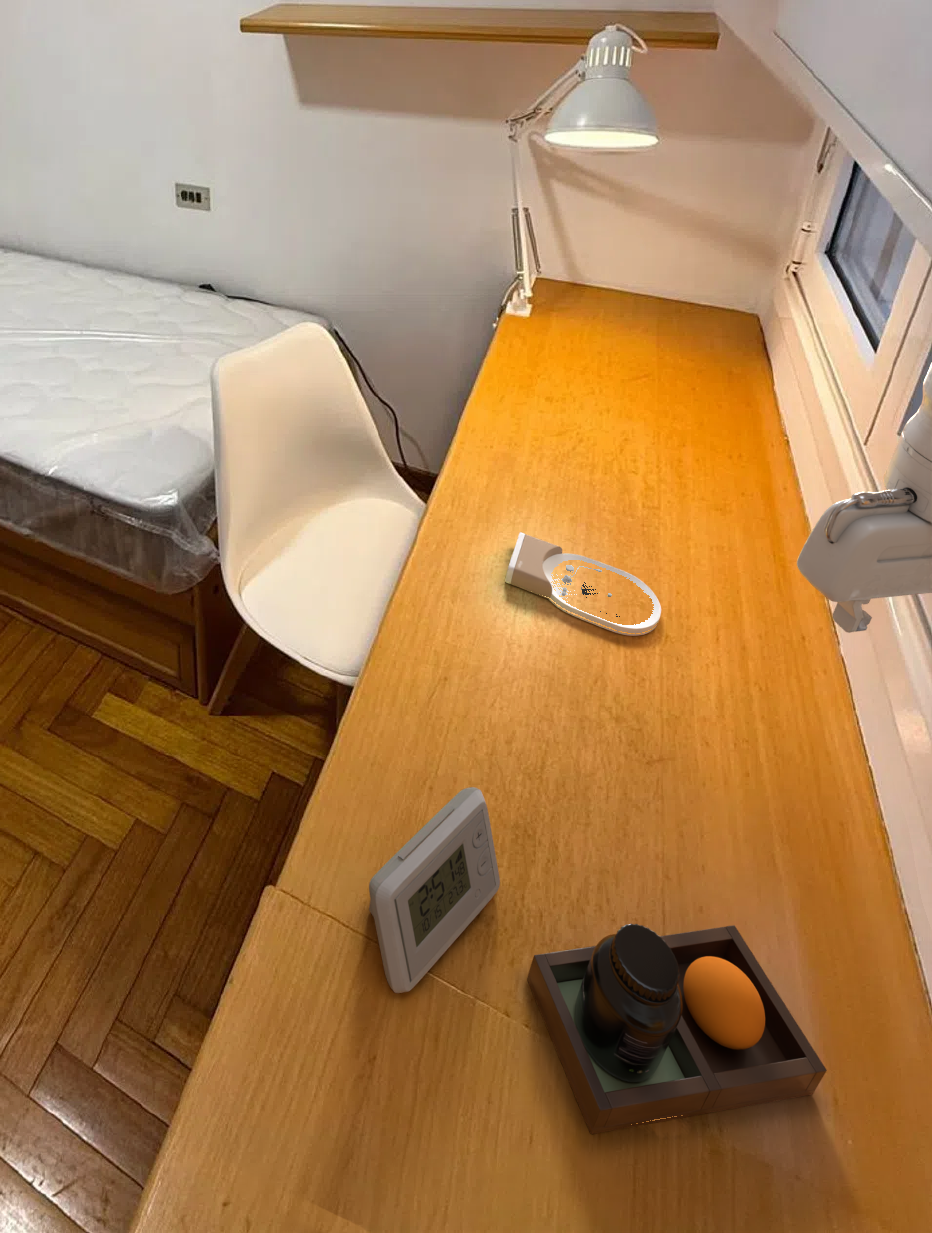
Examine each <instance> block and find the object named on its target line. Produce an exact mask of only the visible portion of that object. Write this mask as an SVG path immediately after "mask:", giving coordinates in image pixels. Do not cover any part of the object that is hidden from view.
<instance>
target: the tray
mask: <svg viewBox="0 0 932 1233" xmlns="http://www.w3.org/2000/svg"><path fill="white" fill-rule="evenodd" d="M659 936H660V937H661V938H662V939H663V940H664V941H665V942H666V943H667V945H668V946H669V947H670V948H671V951H672V953H673V954H674V955H675V959H676V960H677V963H678V964H677V965H678V967H679V978H678V985H679V988H680V991H681V996H682V1014H681V1018H680V1021H679V1023H678V1026H677V1028H676V1030H675V1032H674V1034H673V1036H672V1039H671V1041H670V1043H669V1045H668V1047H667V1049H666V1051H665V1054H664V1056H663V1058H662V1060H661V1062H660V1064H659V1066H658V1068H657V1070H656V1071H655V1073H654V1074H653V1075H652V1076H651V1077H650V1078H648V1079H646V1080H644V1081H641V1082H628V1081H624V1080H621V1079H619V1078H617V1077H615V1076H613V1075H611V1074H610V1073H608V1072H607V1071H606V1070H604V1069H603V1068H602V1067H601V1066H600V1065H599V1064H598V1063H597V1062H596V1061H595V1060H594V1059H593V1057H592V1056H591V1055H590V1053H589V1052H588V1050H587V1049H586V1047H585V1046H584V1044H583V1042H582V1039H581V1037H580V1035H579V1032H578V1030H577V1026H576V1021H575V1003H576V999H577V996H578V992H579V990H580V987H581V984H582V981H583V978H584V976H585V973H586V970H587V967H588V965H589V962H590V959H591V956H592V953H593V951H594V949H595V947H596V945H593V946H586V947H580V948H579V947H578V948H572V949H566V950H560V951H552V952H546V953H538V954H534V955H533V958H532V961H531V963H530V967H529V971H528V974H527V977H526V980H527V983H528V985H529V987H530V990H531V992H532V995H533V997H534V1000H535V1002H536V1005H537V1007H538V1010H539V1012H540V1014H541V1017H542V1019H543V1022H544V1024H545V1026H546V1029H547V1030H548V1031H547V1032H548V1034H549V1036H550V1038H551V1042H552V1044H553V1047H554V1049H555V1051H556V1054H557V1056H558V1058H559V1061H560V1064H561V1066H562V1068H563V1071H564V1073H565V1075H566V1078H567V1080H568V1083H569V1085H570V1088H571V1090H572V1092H573V1095H574V1096H575V1100H576V1103H577V1104H578V1107H579V1109H580V1112H581V1114H582V1117H583V1119H584V1122H585V1124H586V1127H587V1130H588V1131H589V1134H590V1135H594V1134H600V1133H605V1132H610V1131H616V1130H621V1129H626V1128H627V1129H628V1128H632V1127H638V1126H644V1125H649V1124H655V1123H660V1122H667V1121H672V1120H677V1119H683V1118H688V1117H695V1116H700V1115H706V1114H711V1113H716V1112H721V1111H727V1110H732V1109H738V1108H745V1107H749V1106H755V1105H762V1104H767V1103H773V1102H777V1101H782V1100H788V1099H794V1098H799V1097H807V1096H811V1095H814V1093H815V1091H816V1089H817V1088H818V1086H819V1084H820V1083H821V1081H822V1080H823V1078H824V1076H825V1075H826V1073H827V1071H828V1069H827V1068H826V1066H825V1065H824V1064H823V1062H822V1061H821V1059H820V1057H819V1056H818V1054H817V1052H816V1051H815V1050H814V1048H813V1046H812V1045H811V1043H810V1042H809V1040H808V1038H807V1037H806V1035H805V1034H804V1032H803V1030H802V1029H801V1028H800V1026H799V1024H798V1022H797V1021H796V1019H795V1018H794V1017H793V1015H792V1013H791V1011H790V1010H789V1008H788V1007H787V1005H786V1004H785V1002H784V1001H783V999H782V997H781V995H779V993H778V991H777V990H776V988H775V987H774V985H773V984H772V982H771V980H770V979H769V977H768V975H767V974H766V972H765V971H764V969H763V968H762V966H761V964H760V963H759V961H758V960H757V958H756V957H755V955H754V953H753V952H752V950H751V949H750V947H749V946H748V944H747V943H746V941H745V939H744V937H743V936H742V934H741V933H740V931H739V929H738V928H737V926H736V925H728V926H720V927H713V928H705V929H700V930H699V929H698V930H694V931H686V932H685V931H684V932H680V933H674V934H673V933H672V934H666V935H659ZM707 956H712V957H718V958H721V959H724V960H726V961H728V962H730V963H732V964H733V965H735V966H736V967H738V968H739V969H740V970H741V971H742V972H743V973H744V974H745V975H746V976H747V977H748V978H749V979H750V981H751V982H752V983H753V985H754V986H755V988H756V990H757V991H758V993H759V996H760V998H761V1001H762V1003H763V1007H764V1012H765V1028H764V1032H763V1034H762V1037H761V1038H760V1040H759V1041H758V1042H757V1043H756V1044H755V1045H754V1046H752V1047H750V1048H747V1049H742V1050H736V1049H731V1048H727V1047H724V1046H722V1045H720V1044H718V1043H717V1042H715V1041H714V1040H712V1039H711V1038H710V1037H709V1036H708V1035H706V1034H705V1033H704V1032H703V1031H702V1030H701V1028H700V1027H699V1026H698V1025H697V1023H696V1022H695V1020H694V1019H693V1017H692V1015H691V1013H690V1011H689V1009H688V1006H687V1004H686V1000H685V996H684V988H683V983H684V977H685V973H686V971H687V969H688V967H689V966H690V965H691V963H693V962H694V961H695V960H697V959H699V958H701V957H707ZM681 1115H683V1116H681ZM672 1116H673V1117H672ZM674 1116H677V1117H674ZM667 1117H671V1118H667ZM660 1118H666V1119H660ZM654 1119H660V1120H655V1121H652V1120H654ZM650 1120H651V1121H650ZM646 1121H649V1122H646ZM642 1122H644V1123H642ZM636 1123H638V1124H636ZM631 1124H632V1125H631Z"/></svg>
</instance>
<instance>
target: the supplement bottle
mask: <svg viewBox="0 0 932 1233" xmlns="http://www.w3.org/2000/svg"><path fill="white" fill-rule="evenodd" d="M660 936H661V935H658V934H657V932H656V931H654V930H652V929H650V927H646V926H645V925H641V924H638V923H630V924H624V925H623V926H621V927H620V929H618V930H617V931H616V933H613V934H609V935H606V936H604V937H603V938H601V939H600V940H599V941H598V942H597V943H596V945H595V946H596V947H595V949H594V951H593V953H592V956H591V959H590V962H589V965H588V967H587V970H586V973H585V976H584V978H583V981H582V984H581V987H580V990H579V992H578V996H577V999H576V1003H575V1021H576V1026H577V1030H578V1032H579V1035H580V1037H581V1039H582V1042H583V1044H584V1046H585V1047H586V1049H587V1050H588V1052H589V1053H590V1055H591V1056H592V1057H593V1059H594V1060H595V1061H596V1062H597V1063H598V1064H599V1065H600V1066H601V1067H602V1068H603V1069H604V1070H606V1071H607V1072H608V1073H610V1074H611V1075H613V1076H615V1077H617V1078H619V1079H621V1080H624V1081H628V1082H641V1081H644V1080H646V1079H648V1078H650V1077H651V1076H652V1075H653V1074H654V1073H655V1071H656V1070H657V1068H658V1066H659V1064H660V1062H661V1060H662V1058H663V1056H664V1054H665V1051H666V1049H667V1047H668V1045H669V1043H670V1041H671V1039H672V1036H673V1034H674V1032H675V1030H676V1028H677V1026H678V1023H679V1021H680V1018H681V1014H682V996H681V991H680V988H679V985H678V978H679V967H678V965H677V964H678V963H677V960H676V959H675V955H674V954H673V953H672V951H671V948H670V947H669V946H668V945H667V943H666V942H665V941H664V940H663V939H662V938H661V937H660Z"/></svg>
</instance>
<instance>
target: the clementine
mask: <svg viewBox="0 0 932 1233" xmlns="http://www.w3.org/2000/svg"><path fill="white" fill-rule="evenodd" d="M683 988H684V996H685V1000H686V1004H687V1006H688V1009H689V1011H690V1013H691V1015H692V1017H693V1019H694V1020H695V1022H696V1023H697V1025H698V1026H699V1027H700V1028H701V1030H702V1031H703V1032H704V1033H705V1034H706V1035H708V1036H709V1037H710V1038H711V1039H712V1040H714V1041H715V1042H717V1043H718V1044H720V1045H722V1046H724V1047H727V1048H731V1049H736V1050H742V1049H747V1048H750V1047H752V1046H754V1045H755V1044H756V1043H757V1042H758V1041H759V1040H760V1038H761V1037H762V1034H763V1032H764V1028H765V1012H764V1007H763V1003H762V1001H761V998H760V996H759V993H758V991H757V990H756V988H755V986H754V985H753V983H752V982H751V981H750V979H749V978H748V977H747V976H746V975H745V974H744V973H743V972H742V971H741V970H740V969H739V968H738V967H736V966H735V965H733V964H732V963H730V962H728V961H726V960H724V959H721V958H718V957H712V956H707V957H701V958H699V959H697V960H695V961H694V962H693V963H691V965H690V966H689V967H688V969H687V971H686V973H685V977H684V983H683Z"/></svg>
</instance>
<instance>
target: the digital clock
mask: <svg viewBox="0 0 932 1233" xmlns="http://www.w3.org/2000/svg"><path fill="white" fill-rule="evenodd" d="M483 794H484V793H483V792H482V790H481V789H479V788H478V787H474V786H471V787H470V786H469V787H466V788H463V789H461V790H460V791H459V792H457V794H455V795H454V796H453V797H452V798H451V799H450V800H449V801H448V802H447V803H446V804H445V805H444V806H443V807H442V808H441V809H439V811H438V812H437V813H436V814H434V816H432V818H431V819H430V820H429V821H427V822H426V823H425V824H424V825H423V826H422V827H421V829H420V830H418V831H417V832H416V833H415V834H414V835H413V836H412V837H411V838H410V839H409V840H408V841H407V842H406V843H405V844H404V845H403V846H402V847H401V848H400V849H399V850H398V851H397V852H396V853H394V855H393V856H392V857H391V858H390V859H389V860H388V861H387V862H386V863H384V865H382V867H381V868H380V869H378V871H377V872H376V873H375V874H374V875H373V876H372V877H371V879H370V881H369V883H368V892H369V898H370V899H369V906H368V911H369V913H370V914H371V915H372V917H373V919H374V925H375V929H376V934H377V940H378V946H379V950H380V956H381V959H382V965H383V966H382V967H383V971H384V975H385V979H386V981H387V983H388V986H389V987H390V989H391V990H392V991H393V992H394V993H395V994H400V993H401V994H403V993H407V992H410V991H411V990H412V989H414V987H416V986H417V985H418V983H419V982H420V981H421V980H422V979H423V977H424V976H425V975H427V973H428V972H429V971H430V969H431V968H433V966H434V965H435V964H436V963H437V962H438V961H439V959H440V958H441V957H442V956H443V955H444V954H445V953H446V952H447V950H448V949H449V948H450V947H451V946H452V945H453V944H454V942H455V941H456V940H457V939H458V938H459V937H460V935H461V934H462V933H463V932H464V931H465V930H466V928H467V927H469V925H470V924H471V923H472V922H473V920H474V919H475V918H476V917H478V915H479V914H480V913H481V911H482V910H483V909H484V908H485V907H486V906H487V905H488V904H489V902H490V901H491V900H492V899H493V898H494V896H495V895H496V894H497V893H498V891H499V888H500V886H501V878H500V872H499V867H498V860H497V855H496V848H495V843H494V838H493V837H494V836H493V832H492V825H491V821H490V815H489V809H488V805H487V802H486V799H485V797H484V795H483Z"/></svg>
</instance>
